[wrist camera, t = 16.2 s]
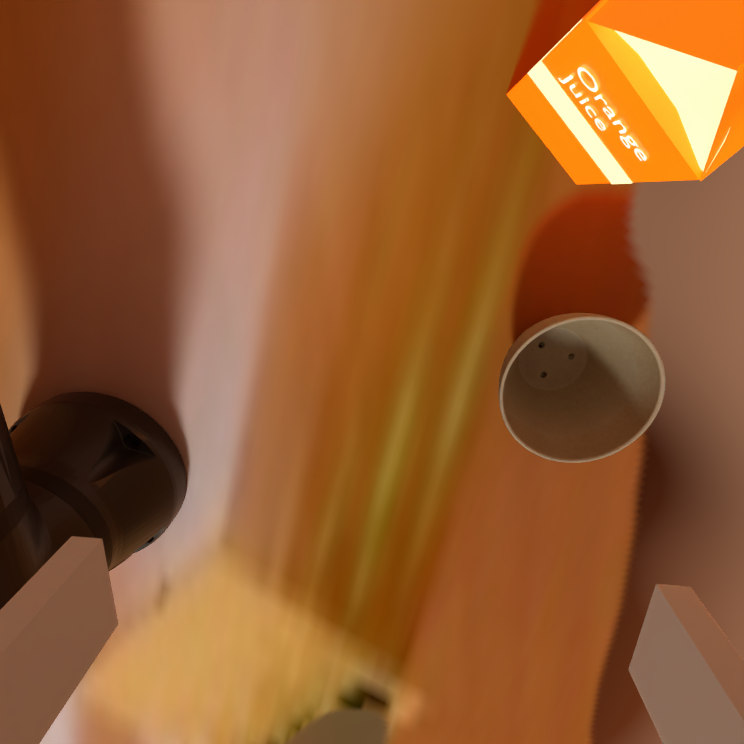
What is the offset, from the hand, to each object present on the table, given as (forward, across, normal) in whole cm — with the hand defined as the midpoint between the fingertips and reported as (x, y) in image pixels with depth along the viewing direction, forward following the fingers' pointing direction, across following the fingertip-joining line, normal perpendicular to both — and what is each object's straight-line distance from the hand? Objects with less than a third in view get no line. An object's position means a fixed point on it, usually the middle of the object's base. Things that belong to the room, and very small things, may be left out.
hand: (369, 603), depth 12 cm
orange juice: (+27, -12, -16) cm, 34 cm away
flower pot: (+27, -12, +2) cm, 30 cm away
